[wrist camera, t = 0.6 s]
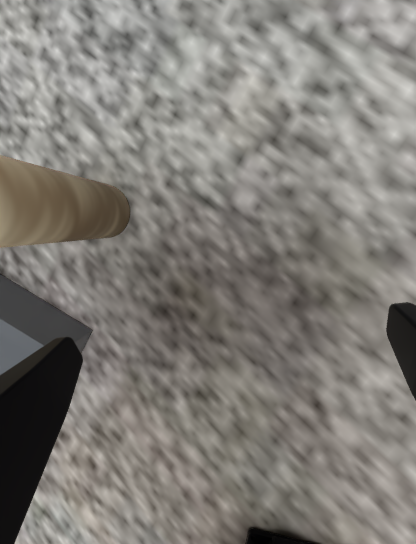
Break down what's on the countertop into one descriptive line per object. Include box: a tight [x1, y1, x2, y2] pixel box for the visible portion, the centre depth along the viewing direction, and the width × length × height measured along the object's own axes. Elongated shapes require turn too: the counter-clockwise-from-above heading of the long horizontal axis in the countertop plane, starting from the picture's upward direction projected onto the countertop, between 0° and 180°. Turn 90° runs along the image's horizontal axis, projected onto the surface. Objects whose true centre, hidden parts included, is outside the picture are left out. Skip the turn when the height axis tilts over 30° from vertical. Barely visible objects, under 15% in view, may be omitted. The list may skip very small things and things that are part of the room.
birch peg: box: [0, 155, 130, 248], centre depth 16 cm, size 4×4×13 cm
